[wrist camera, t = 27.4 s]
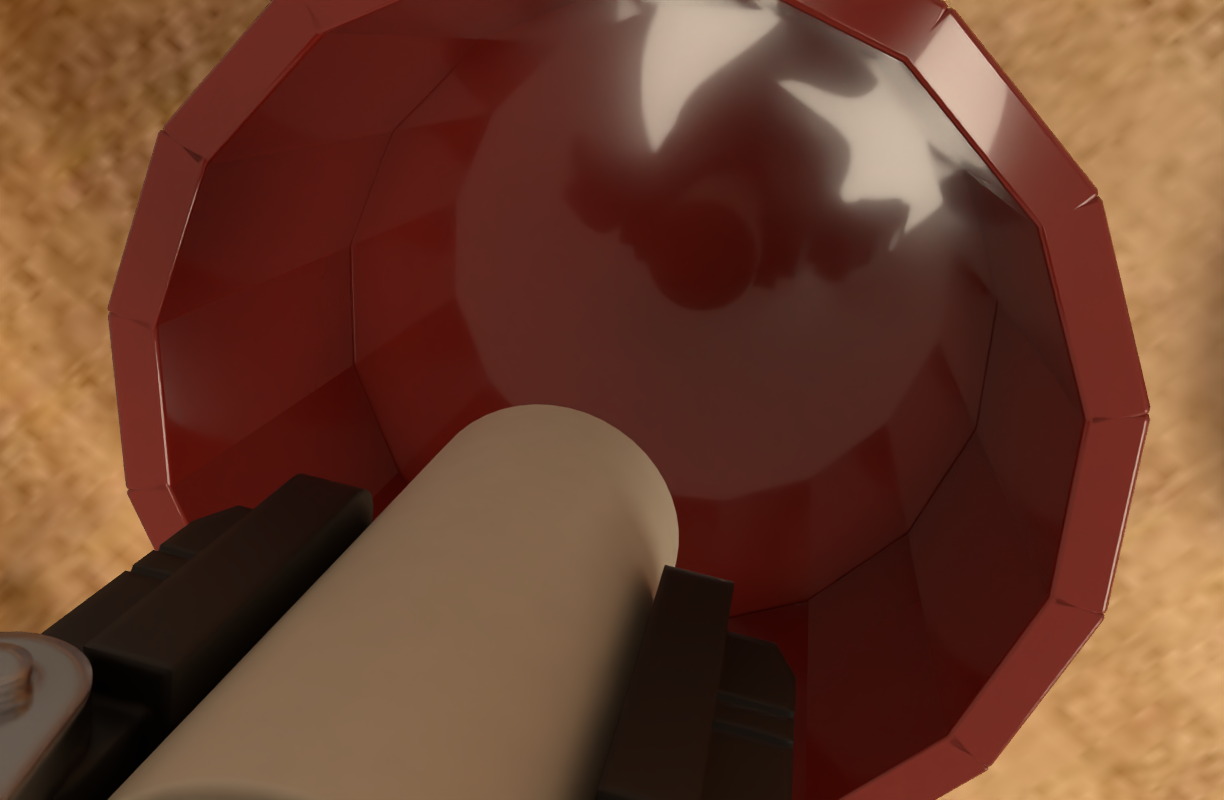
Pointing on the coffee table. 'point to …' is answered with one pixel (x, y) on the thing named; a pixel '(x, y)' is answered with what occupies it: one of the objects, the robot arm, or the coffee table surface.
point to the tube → (451, 635)
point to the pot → (671, 320)
